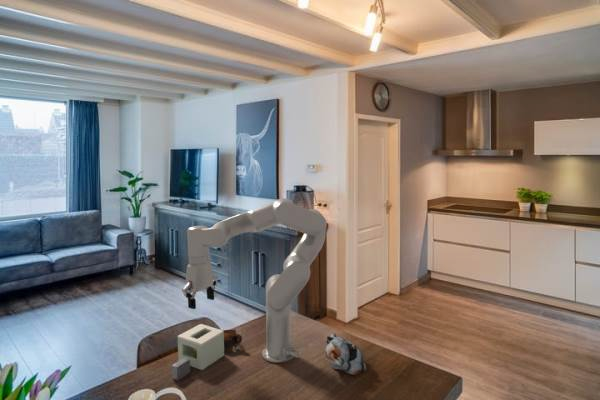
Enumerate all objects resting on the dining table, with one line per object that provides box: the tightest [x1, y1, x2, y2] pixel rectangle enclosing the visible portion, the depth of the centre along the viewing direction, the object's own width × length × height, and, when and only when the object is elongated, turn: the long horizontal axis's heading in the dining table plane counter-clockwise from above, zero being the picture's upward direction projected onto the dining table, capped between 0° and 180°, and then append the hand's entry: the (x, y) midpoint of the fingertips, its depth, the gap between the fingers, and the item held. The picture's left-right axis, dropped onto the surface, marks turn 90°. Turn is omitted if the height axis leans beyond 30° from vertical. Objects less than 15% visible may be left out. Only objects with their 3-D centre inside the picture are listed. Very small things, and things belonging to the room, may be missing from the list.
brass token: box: [193, 348, 197, 359], centre depth 146 cm, size 2×6×5 cm, turn 150°
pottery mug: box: [222, 329, 243, 352], centre depth 155 cm, size 12×10×8 cm
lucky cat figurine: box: [325, 333, 367, 376], centre depth 139 cm, size 15×12×14 cm
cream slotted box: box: [177, 323, 225, 371], centre depth 146 cm, size 12×12×10 cm
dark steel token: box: [171, 358, 191, 381], centre depth 135 cm, size 2×6×5 cm, turn 150°
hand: (201, 303), depth 144 cm, fingers open, 9 cm apart
